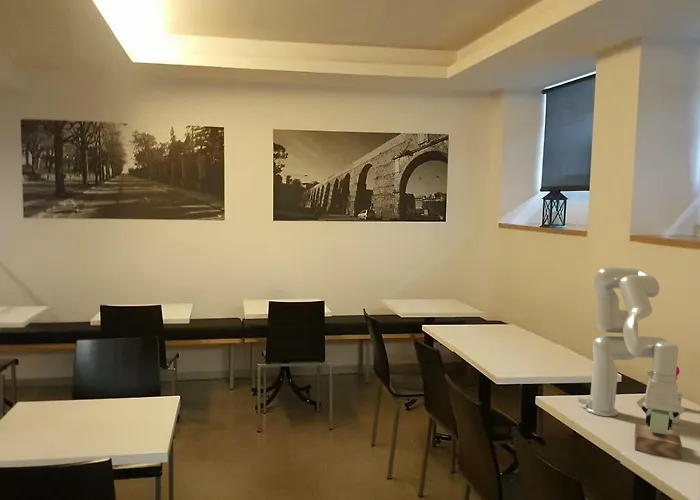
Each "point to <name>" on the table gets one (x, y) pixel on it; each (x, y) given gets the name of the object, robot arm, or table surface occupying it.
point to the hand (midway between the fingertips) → (658, 426)
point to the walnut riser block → (657, 442)
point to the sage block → (659, 421)
